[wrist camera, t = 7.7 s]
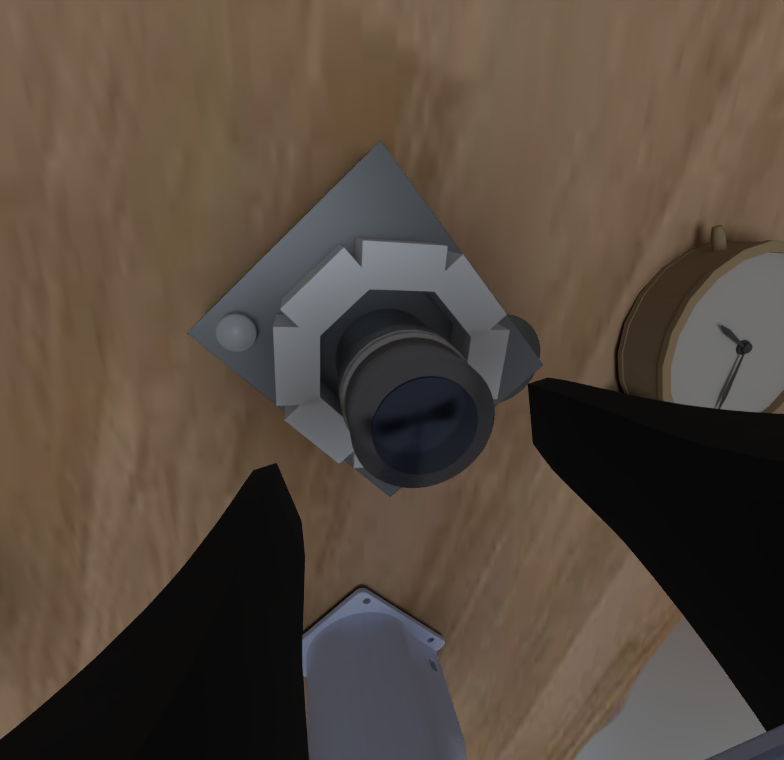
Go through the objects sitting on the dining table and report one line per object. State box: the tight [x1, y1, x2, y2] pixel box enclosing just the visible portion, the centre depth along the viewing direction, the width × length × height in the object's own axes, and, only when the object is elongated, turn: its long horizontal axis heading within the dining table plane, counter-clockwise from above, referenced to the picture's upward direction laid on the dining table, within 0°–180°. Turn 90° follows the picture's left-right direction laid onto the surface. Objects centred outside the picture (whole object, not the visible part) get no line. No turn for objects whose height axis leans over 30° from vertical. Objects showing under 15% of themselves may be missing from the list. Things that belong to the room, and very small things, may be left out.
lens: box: [335, 309, 495, 488], centre depth 14 cm, size 5×5×6 cm
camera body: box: [187, 141, 543, 497], centre depth 17 cm, size 12×10×5 cm
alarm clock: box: [618, 225, 784, 414], centre depth 23 cm, size 11×5×15 cm
